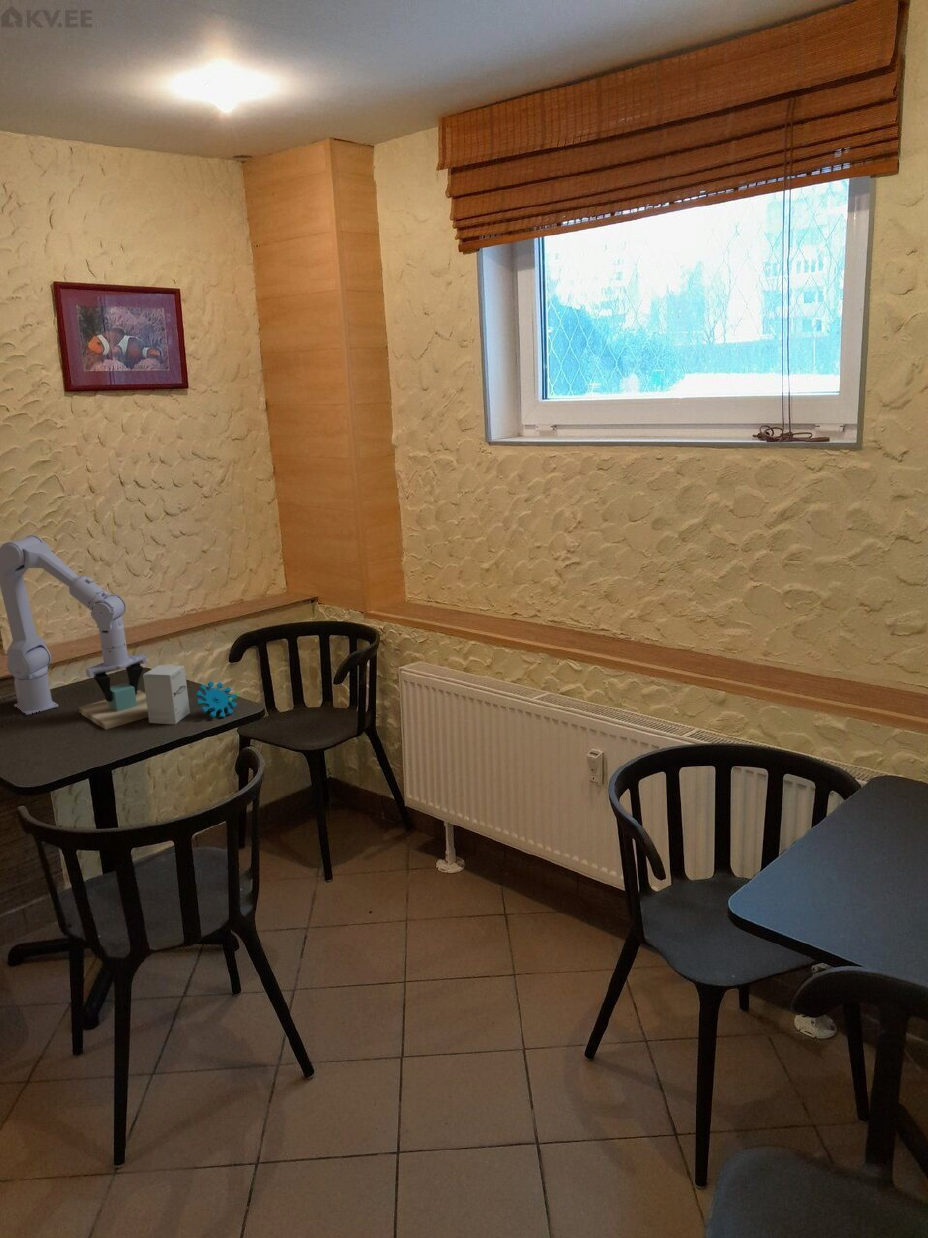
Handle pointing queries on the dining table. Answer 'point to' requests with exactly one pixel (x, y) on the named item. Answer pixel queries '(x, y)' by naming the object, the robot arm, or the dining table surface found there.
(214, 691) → the gear
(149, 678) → the supplement box
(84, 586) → the robot arm
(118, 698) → the mint green cube
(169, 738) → the dining table surface
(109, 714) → the post board
